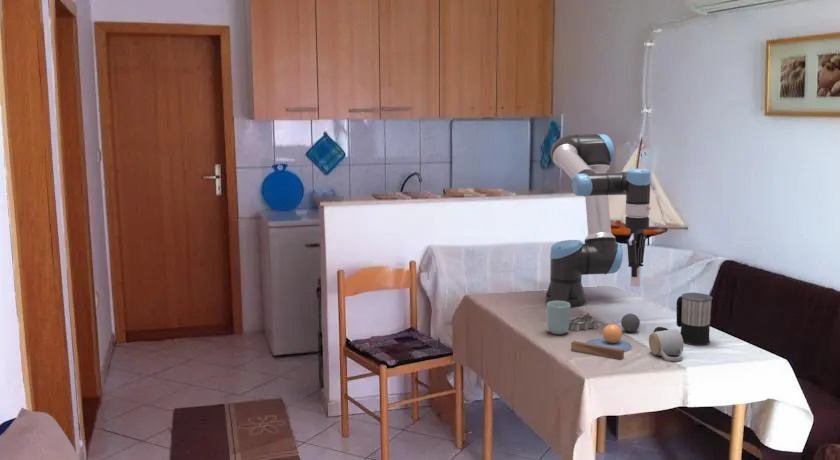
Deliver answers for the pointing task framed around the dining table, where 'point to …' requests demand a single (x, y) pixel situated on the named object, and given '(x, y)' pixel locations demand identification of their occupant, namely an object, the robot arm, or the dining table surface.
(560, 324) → the cup
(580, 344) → the wall
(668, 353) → the ceramic mug
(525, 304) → the dining table surface
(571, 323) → the egg carton
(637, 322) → the dark gray ball
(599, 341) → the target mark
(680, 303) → the milk frother
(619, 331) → the terracotta ball
